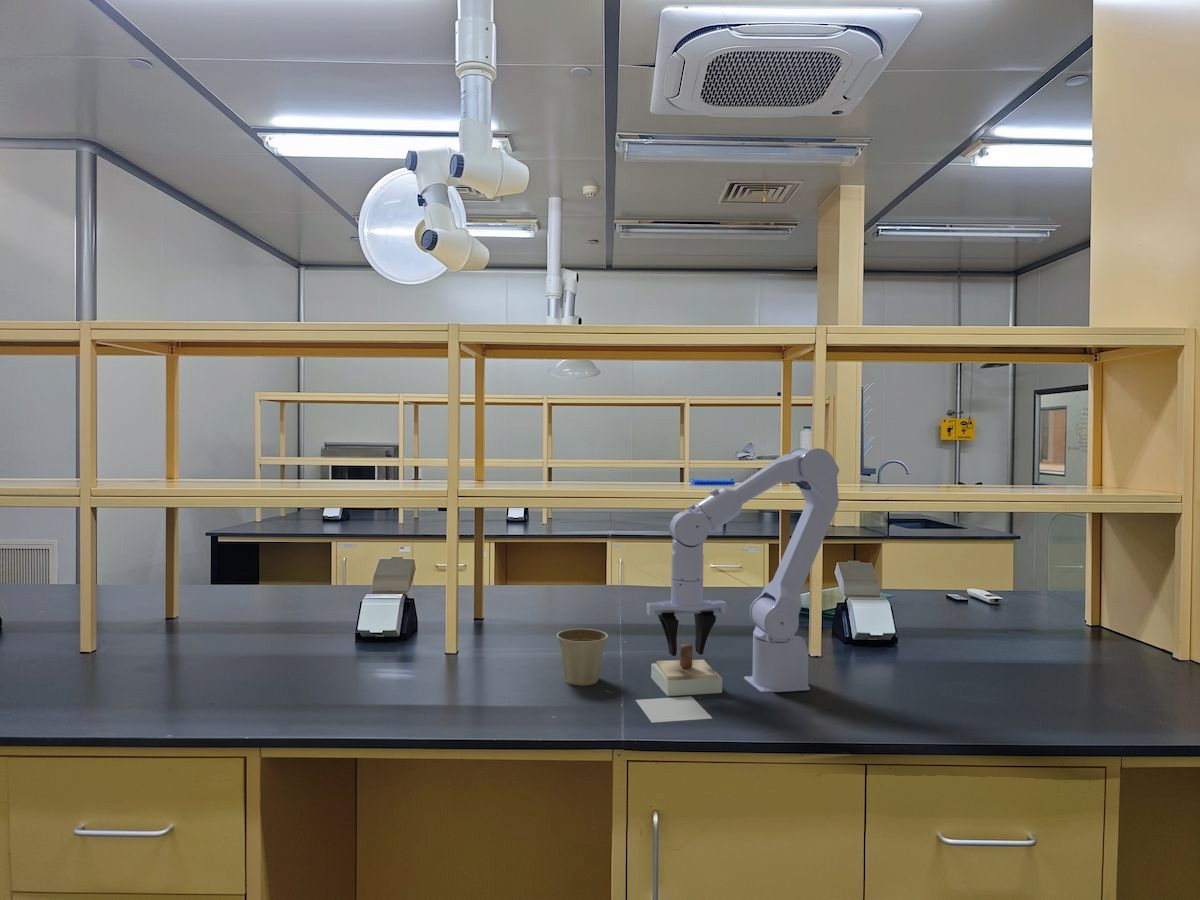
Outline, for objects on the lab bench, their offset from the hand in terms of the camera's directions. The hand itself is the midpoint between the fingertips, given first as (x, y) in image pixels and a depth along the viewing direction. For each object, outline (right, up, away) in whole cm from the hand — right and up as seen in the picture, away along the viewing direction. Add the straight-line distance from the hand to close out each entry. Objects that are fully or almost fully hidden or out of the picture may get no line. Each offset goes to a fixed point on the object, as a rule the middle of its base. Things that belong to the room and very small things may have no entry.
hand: (686, 653), depth 128 cm
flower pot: (-19, -6, +2) cm, 20 cm away
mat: (-4, -6, -12) cm, 14 cm away
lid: (0, -3, 0) cm, 3 cm away
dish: (0, -6, 0) cm, 6 cm away
